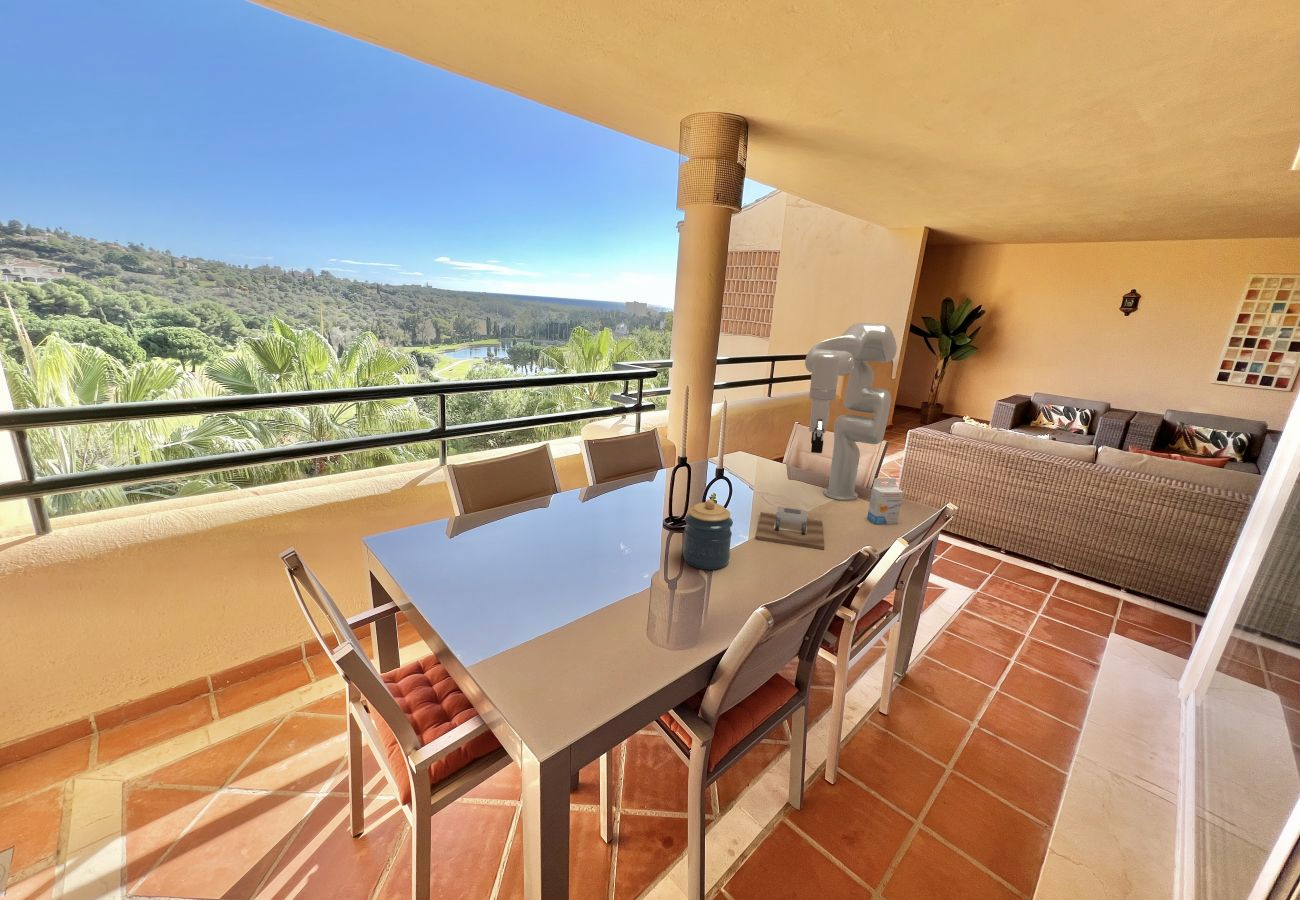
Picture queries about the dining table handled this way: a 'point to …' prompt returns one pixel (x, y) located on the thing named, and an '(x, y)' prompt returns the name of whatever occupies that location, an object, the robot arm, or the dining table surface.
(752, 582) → the dining table surface
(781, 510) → the drive
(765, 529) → the pin tray
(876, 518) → the ink box
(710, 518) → the canister
